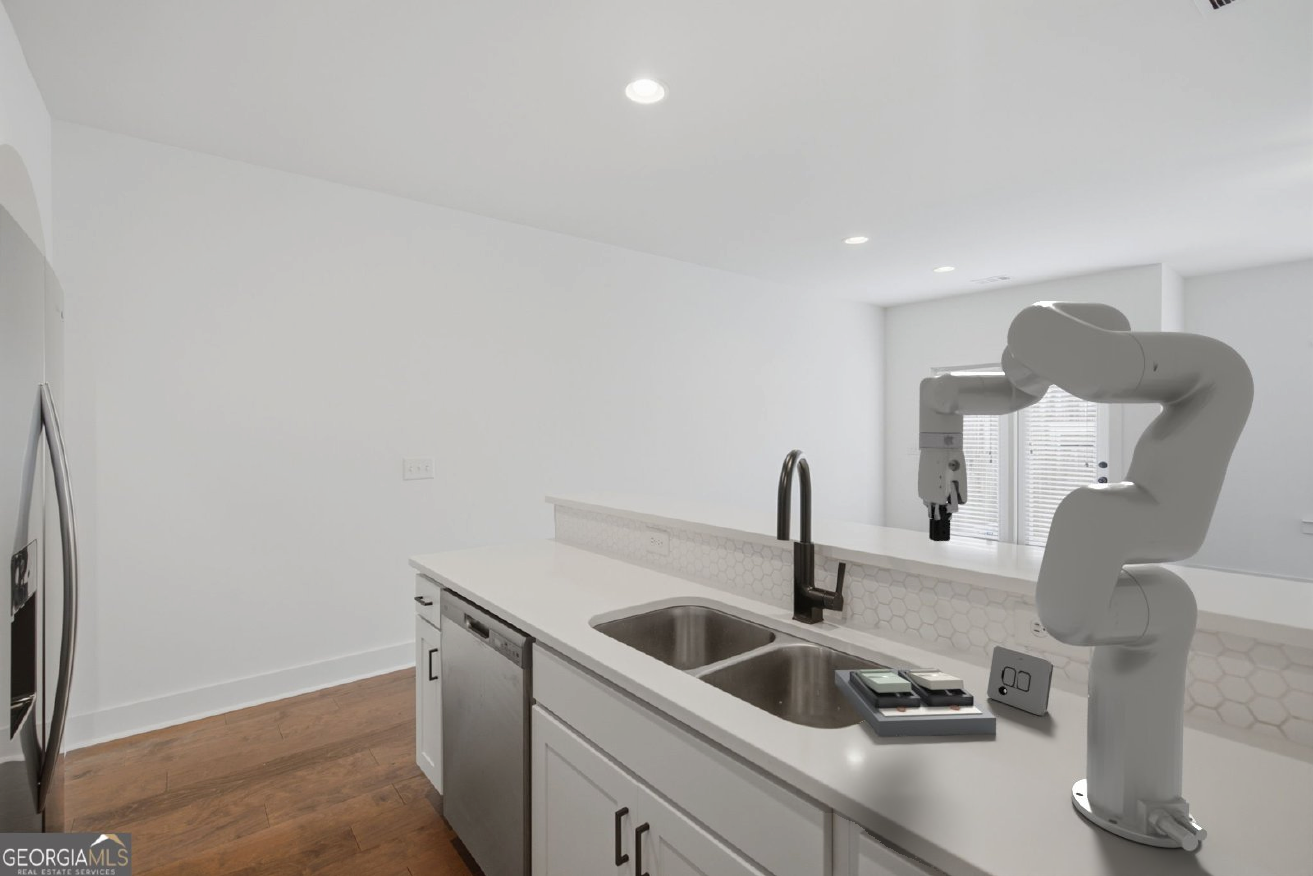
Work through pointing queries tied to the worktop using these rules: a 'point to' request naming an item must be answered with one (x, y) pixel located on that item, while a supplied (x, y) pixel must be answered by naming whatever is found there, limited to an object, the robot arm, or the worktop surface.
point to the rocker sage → (884, 681)
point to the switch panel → (915, 708)
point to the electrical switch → (1020, 680)
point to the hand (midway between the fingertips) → (939, 540)
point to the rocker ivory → (935, 679)
